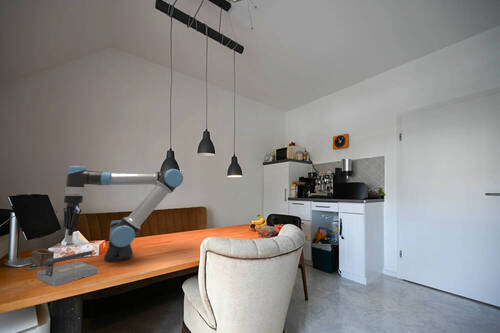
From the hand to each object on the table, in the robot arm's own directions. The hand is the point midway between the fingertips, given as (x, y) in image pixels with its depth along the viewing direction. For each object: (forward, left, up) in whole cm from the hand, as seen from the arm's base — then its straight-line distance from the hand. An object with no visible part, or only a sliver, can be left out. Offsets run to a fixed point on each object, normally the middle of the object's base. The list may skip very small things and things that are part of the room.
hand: (68, 241), depth 110 cm
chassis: (+1, +6, -15) cm, 16 cm away
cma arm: (+1, +6, -7) cm, 10 cm away
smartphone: (+1, -24, -16) cm, 29 cm away
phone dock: (+1, -24, -15) cm, 28 cm away
